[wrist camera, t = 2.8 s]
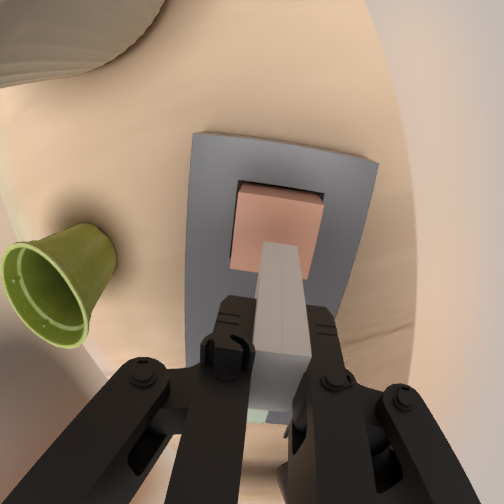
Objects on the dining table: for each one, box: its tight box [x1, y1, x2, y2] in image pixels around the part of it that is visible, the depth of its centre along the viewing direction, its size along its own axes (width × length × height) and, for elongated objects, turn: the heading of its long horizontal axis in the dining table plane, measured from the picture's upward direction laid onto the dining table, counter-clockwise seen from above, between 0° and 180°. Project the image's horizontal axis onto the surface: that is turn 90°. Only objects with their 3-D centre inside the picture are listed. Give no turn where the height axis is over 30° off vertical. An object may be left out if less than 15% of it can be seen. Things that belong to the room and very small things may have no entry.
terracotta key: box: [230, 182, 324, 280], centre depth 19 cm, size 5×5×3 cm
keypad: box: [185, 132, 379, 425], centre depth 25 cm, size 29×12×3 cm, turn 173°
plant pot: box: [1, 223, 117, 348], centre depth 21 cm, size 9×9×9 cm
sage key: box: [247, 408, 269, 424], centre depth 27 cm, size 5×5×3 cm
